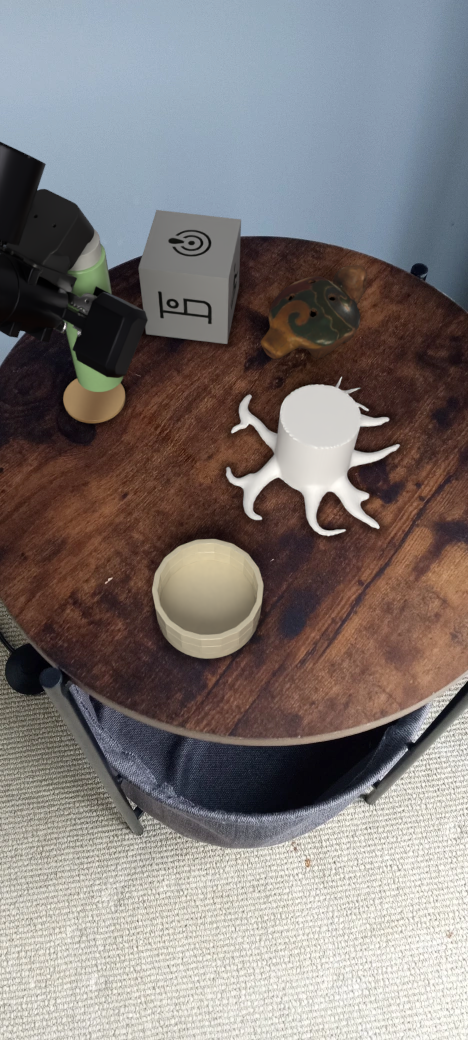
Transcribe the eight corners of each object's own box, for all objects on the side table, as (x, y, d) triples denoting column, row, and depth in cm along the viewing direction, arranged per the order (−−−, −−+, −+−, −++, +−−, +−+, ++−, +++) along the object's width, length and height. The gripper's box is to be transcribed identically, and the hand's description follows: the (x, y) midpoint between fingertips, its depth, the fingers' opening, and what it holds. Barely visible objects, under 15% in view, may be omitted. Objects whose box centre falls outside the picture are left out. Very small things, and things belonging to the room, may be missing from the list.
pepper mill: (105, 399, 75) (79, 267, 60) (67, 379, 76) (32, 245, 62) (133, 368, 77) (114, 234, 63) (95, 350, 78) (68, 213, 64)
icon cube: (146, 334, 88) (138, 267, 79) (162, 277, 93) (156, 209, 84) (227, 344, 87) (228, 278, 78) (238, 286, 92) (241, 219, 83)
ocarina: (382, 327, 89) (396, 279, 82) (298, 397, 84) (304, 354, 77) (324, 283, 92) (332, 234, 85) (240, 350, 87) (241, 304, 80)
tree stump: (423, 429, 81) (443, 381, 74) (361, 567, 72) (377, 527, 65) (263, 367, 85) (267, 316, 78) (185, 490, 76) (182, 445, 69)
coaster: (68, 428, 80) (67, 425, 80) (60, 381, 84) (59, 378, 83) (130, 417, 81) (129, 414, 81) (120, 371, 85) (119, 368, 84)
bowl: (167, 669, 66) (164, 651, 62) (148, 573, 71) (143, 550, 67) (271, 646, 68) (275, 626, 63) (245, 553, 73) (247, 529, 68)
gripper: (120, 234, 52) (209, 272, 66) (-66, 142, 57) (54, 196, 71) (67, 376, 55) (163, 384, 69) (-105, 278, 60) (18, 304, 74)
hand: (99, 313), depth 71 cm, fingers closed on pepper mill, 5 cm apart
